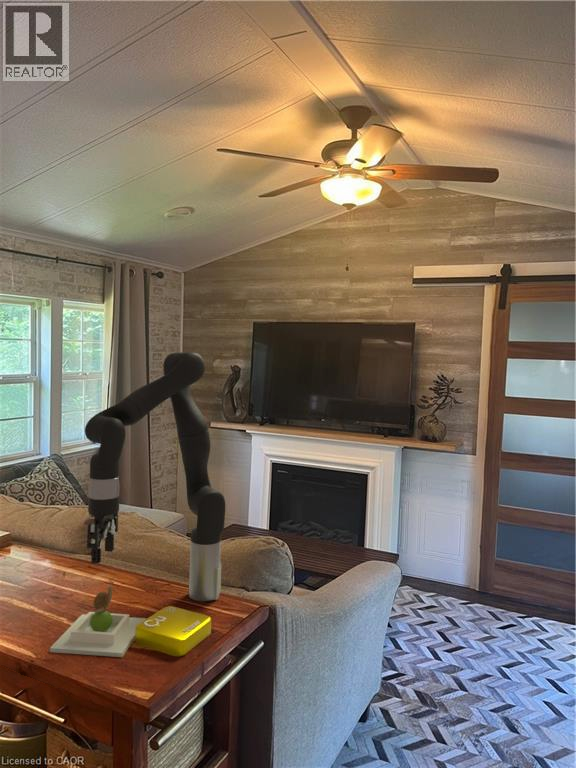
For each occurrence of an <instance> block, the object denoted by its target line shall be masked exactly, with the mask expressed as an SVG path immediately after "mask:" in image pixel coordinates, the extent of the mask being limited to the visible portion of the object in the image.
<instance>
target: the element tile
mask: <svg viewBox="0 0 576 768" xmlns="http://www.w3.org/2000/svg"><path fill="white" fill-rule="evenodd" d="M211 633H212V617H211V616H209V615H208V614H207V615H206V614H203V613H199V612H195V611H192V610H189V609H185V608H180V607H178V606H177V607H176V606H173V605H168V606H165V607H164V608H162V609H160V610H159V611H156V613H154V614H152V615H150V616H149V617H148V618H146V620H144V621H143V622H141V623H140V624H138V625H137V626H136V632H135V639H134V641H135V644H136V646H137V645H138V646H140V647H143V648H147V649H150V650H153V651H156V652H160V653H162V654H166V655H168V656H173V657H182V656H184V655H186V654H187V653H189V652H190V651H192V649H194V648H196V646H197V645H199V644H200V643H202V641H204V640H205V639H206V638H208V637H209V636H210V635H211Z"/></svg>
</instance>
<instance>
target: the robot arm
mask: <svg viewBox="0 0 576 768" xmlns="http://www.w3.org/2000/svg"><path fill="white" fill-rule="evenodd" d="M162 367H163V369H162V370H163V376H161V377H159V378H157V379H155V380H153V381H151V382H149V383H147V384H145V385H143V386H141V387H139V388H137V389H135V390H134V391H133V392H131V393H130V394H129V395H127V396H126V397H124V398H122V400H121V401H119V402H118V403H117V404H114V405H113V406H110V407H107V408H106V409H104V410H102V411H100V412H98V413H96V414H95V415H93V416H92V417H91V418H90V419H89V420H88V421H87V423H86V425H85V427H84V434H85V436H86V439H88V441H89V442H92V443H94V444H99V446H100V447H99V450H98V453H94V454H93V455H92V456H91V457H90V461H89V482H88V501H87V503H88V504H87V508H88V509H87V512H88V515H91V516H93V518H94V519H93V523H88V525H87V533H86V534H87V539H86V540H87V542H86V549H91V554H90V555H91V561H90V562H91V563H92V564H100V563H101V562H102V546H103V542H104V551H105V552H111V553H112V552H113V551H114V550H115V537H116V533H118V531H119V511H120V487H121V486H120V480H119V479H120V477H119V475H120V474H119V472H120V463H119V462H120V458H121V455H122V452H123V447H124V445H125V440H126V427H127V426H133V425H136V424H137V423H138V422H139V421H140V420H142V419H143V418H144V417H145V416H147V415H148V414H149V413H151V412H152V411H153V410H154V409H155V408H157V407H158V406H160V405H161V404H162V403H164V402H165V401H166V400H168V399H169V398H170V400H171V406H172V410H173V414H174V415H173V416H174V419H175V424H176V426H175V427H176V431H177V437H178V444H179V448H180V453H181V459H182V465H183V468H184V469H183V470H184V474H185V483H186V485H185V486H186V498H187V505H188V508H189V510H190V511H191V512H192V513H193V514H194V515H195V516H197V518H196V519H197V520H196V528H194V529H192V530H191V531H190V550H189V551H190V552H189V553H190V554H189V579H188V580H189V581H188V585H189V586H188V597H189V598H190V599H191V600H193V601H196V602H197V601H198V602H209V601H217V600H218V599H219V597H220V594H221V590H222V589H221V586H222V561H221V549H222V548H221V546H222V545H221V544H222V534H223V532H224V529H225V520H226V519H225V518H226V500H225V496H224V495H223V493H222V492H220V491H218V490H217V489H214V488H212V485H211V482H210V477H209V473H208V472H209V471H208V462H209V458H210V453H211V437H210V436H211V435H210V431H209V426H208V422H207V419H205V417H204V415H203V413H202V411H201V409H199V407H198V406H197V404H196V403H195V400H194V399H193V396H192V393H191V392H192V391H191V388H190V386H192V385H194V384H195V383H197V382H198V381H199V380H201V378H203V376H204V374H205V372H206V371H205V370H206V364H205V360H204V359H203V357H202V356H201V355H200V354H199V353H197V352H192V351H183V352H173V353H172V352H171V353H169V354H168V355H167V356H166V357H165V358H164V362H163V366H162Z"/></svg>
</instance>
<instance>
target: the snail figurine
mask: <svg viewBox="0 0 576 768" xmlns="http://www.w3.org/2000/svg"><path fill="white" fill-rule="evenodd" d="M109 583H110V584H111V585H110V586H108V588H107V592H105V591H101V592H98V593H97V594H96V595H95V597H94V599H93V607H94V611H93V612H95V613H94V614H93V616H92V617H91V620H90V625H91V628H92V629H93V630H94V631H96V632H105V631H106V630H108V629H109V628H110V626H111V624H112V615H111V614H110V613H111V612H109V611H108V610H106V609H107V608H108V607H109V606H110V604H111V601H112V597H113V591H114V581H112V580H110V581H109Z"/></svg>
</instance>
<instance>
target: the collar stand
mask: <svg viewBox="0 0 576 768" xmlns="http://www.w3.org/2000/svg"><path fill="white" fill-rule="evenodd" d="M94 613H95V612H94V611H89V612H88V613H87V614H86V613H85V614H84V613H82V614H81V615H79V617H78V618H76V620H75V621H74V622H73V623H72V624H71V625H70V627H68V629H66V630H65V632H64V633H63V634H62V635H61V636H59V638H57V640H56V641H55V642H54V643H53V644H52V645H51V646H50V648H49V653H58V654H74V655H84V656H85V655H88V656H101V657H112V658H114V657H116V658H123V657H124V656H125V654H126V652H127V651H128V649H129V648H130V646H131V645H132V644H133V642H134V641H135V632H136V626H137V625H138V624H140V623H141V622H143V621H144V620H146V619H147V618H145V617H134V616H133V617H130V614H127V613H111V612H110V614H111V615H112V624H111V626H110V628H109V629H108V630H106V631H105V632H96V631H94V630H93V629H92V628H91V625H90V620H91V617H92V616H93V614H94Z"/></svg>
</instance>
